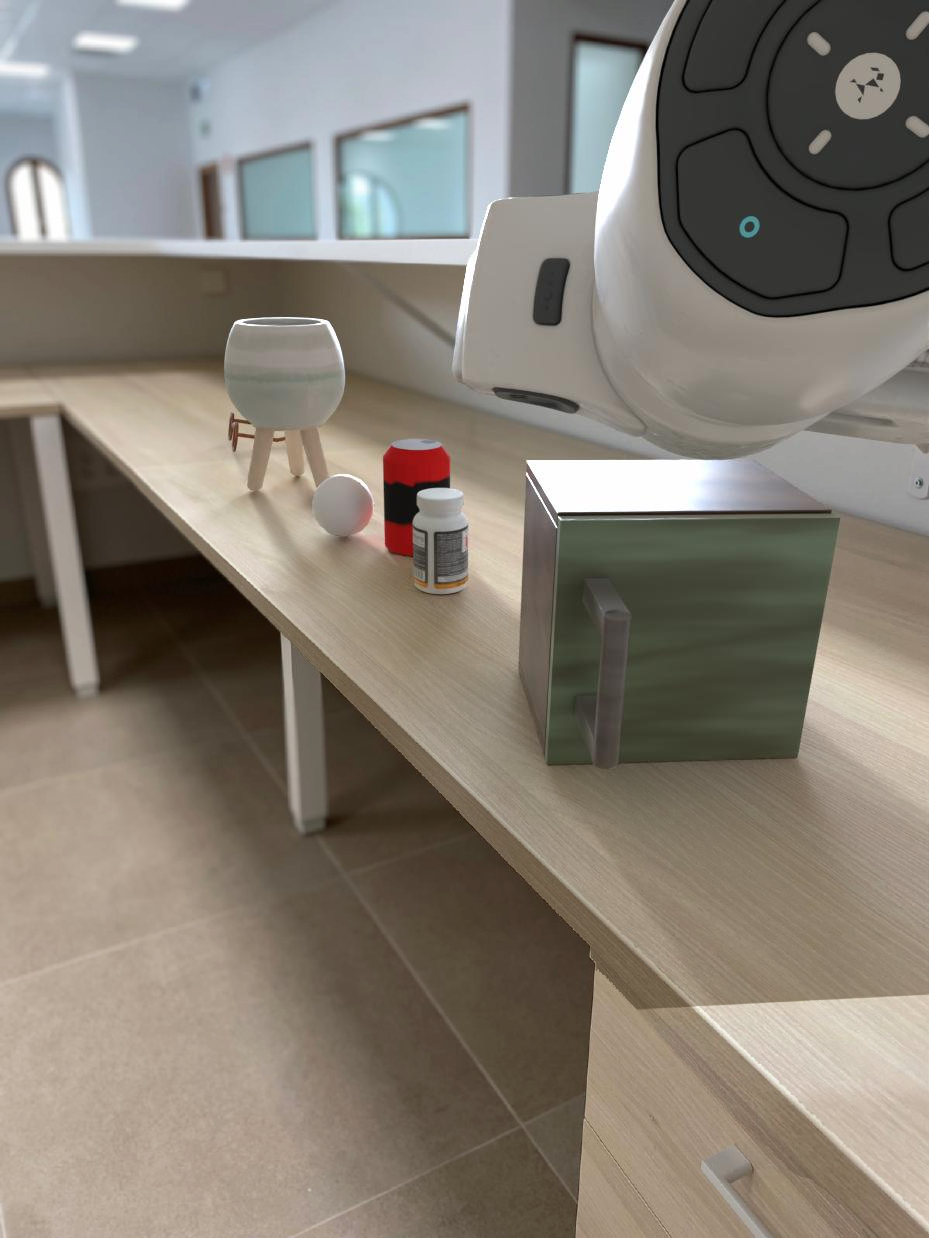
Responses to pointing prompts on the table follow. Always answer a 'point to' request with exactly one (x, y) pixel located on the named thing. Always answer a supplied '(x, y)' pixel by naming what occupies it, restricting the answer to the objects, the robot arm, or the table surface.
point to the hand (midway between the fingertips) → (682, 393)
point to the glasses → (234, 432)
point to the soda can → (410, 486)
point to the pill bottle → (440, 542)
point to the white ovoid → (343, 505)
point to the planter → (285, 387)
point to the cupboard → (623, 494)
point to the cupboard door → (684, 635)
